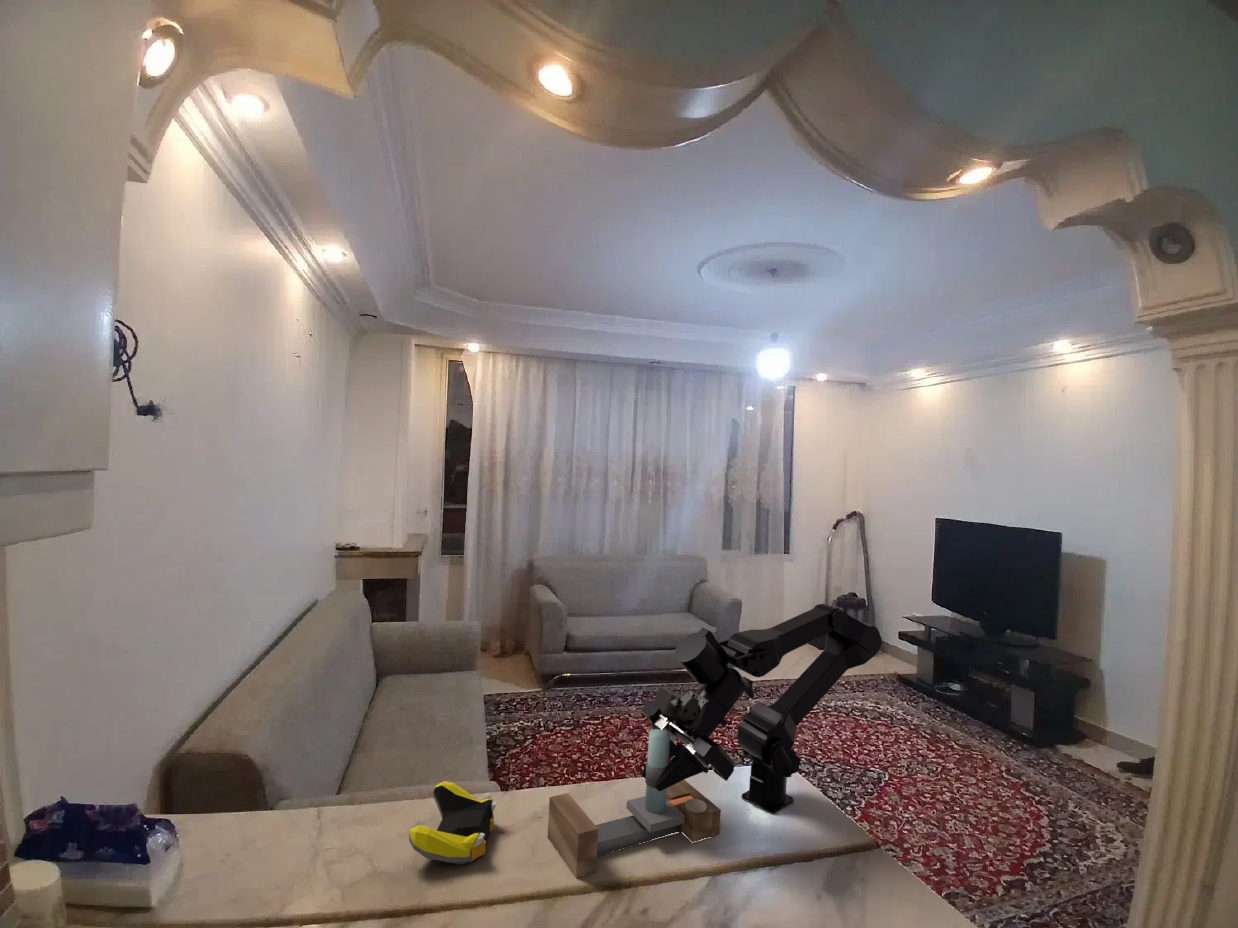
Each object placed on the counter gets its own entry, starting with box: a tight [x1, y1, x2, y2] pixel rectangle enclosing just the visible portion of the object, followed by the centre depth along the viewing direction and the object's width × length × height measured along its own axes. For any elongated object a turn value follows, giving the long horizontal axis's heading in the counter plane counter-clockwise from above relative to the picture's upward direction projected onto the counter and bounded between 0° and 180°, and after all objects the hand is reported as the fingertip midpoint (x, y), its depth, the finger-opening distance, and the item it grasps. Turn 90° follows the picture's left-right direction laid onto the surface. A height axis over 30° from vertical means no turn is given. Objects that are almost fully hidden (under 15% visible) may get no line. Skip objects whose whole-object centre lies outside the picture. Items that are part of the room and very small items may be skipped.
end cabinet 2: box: [667, 779, 722, 842], centre depth 101 cm, size 5×10×4 cm, turn 29°
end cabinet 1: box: [547, 792, 598, 879], centre depth 91 cm, size 3×10×6 cm, turn 29°
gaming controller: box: [408, 780, 498, 866], centre depth 93 cm, size 15×6×10 cm
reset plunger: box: [669, 796, 694, 809], centre depth 100 cm, size 4×1×1 cm, turn 119°
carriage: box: [626, 729, 685, 833], centre depth 98 cm, size 6×7×13 cm
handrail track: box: [595, 814, 681, 857], centre depth 96 cm, size 22×4×2 cm, turn 119°
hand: (650, 783), depth 97 cm, fingers closed on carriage, 3 cm apart
